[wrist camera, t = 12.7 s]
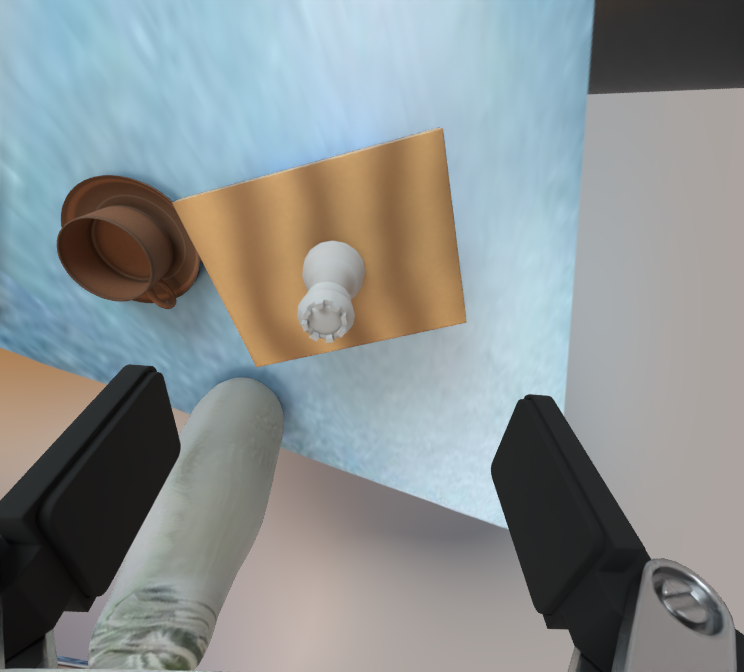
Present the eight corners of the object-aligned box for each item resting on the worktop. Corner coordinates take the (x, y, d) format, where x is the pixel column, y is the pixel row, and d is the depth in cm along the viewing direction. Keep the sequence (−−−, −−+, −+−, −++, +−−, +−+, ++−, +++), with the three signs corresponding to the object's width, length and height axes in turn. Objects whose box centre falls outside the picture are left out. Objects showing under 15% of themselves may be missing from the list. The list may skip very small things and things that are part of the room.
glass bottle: (304, 409, 48) (246, 708, 24) (236, 430, 50) (120, 727, 26) (266, 351, 43) (147, 655, 19) (192, 377, 45) (-1, 683, 21)
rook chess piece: (336, 306, 29) (327, 370, 22) (291, 268, 27) (266, 323, 20) (378, 268, 27) (382, 324, 20) (332, 224, 25) (320, 269, 18)
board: (439, 127, 23) (442, 128, 22) (463, 315, 31) (466, 322, 30) (179, 198, 25) (171, 202, 24) (259, 359, 33) (256, 367, 32)
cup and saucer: (229, 232, 36) (206, 254, 30) (174, 315, 40) (146, 346, 35) (102, 140, 31) (50, 147, 26) (57, 245, 36) (5, 269, 31)
